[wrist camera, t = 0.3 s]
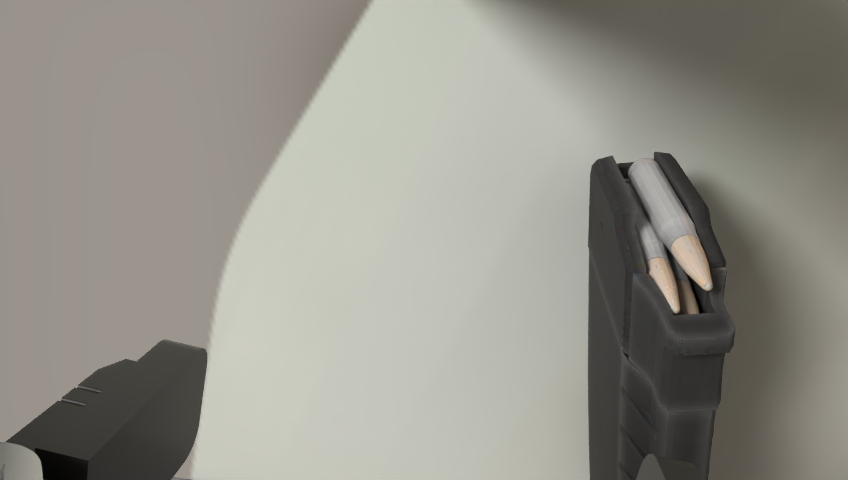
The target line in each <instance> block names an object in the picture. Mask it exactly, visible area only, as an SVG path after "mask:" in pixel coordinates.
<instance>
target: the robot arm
mask: <svg viewBox="0 0 848 480" xmlns="http://www.w3.org/2000/svg"><path fill="white" fill-rule="evenodd" d="M206 367H207V352H206V350H205V349H203V348H199V347H195V346H190V345H186V344H182V343H178V342H173V341H169V340H162V341H160V342H159V343H158V344H157V345H156V346H154V347H153V348H152V349H151V350H150V351H148V352H147V353H146V354H145V355H144V356H143V357H141V358H140V359H139V360H138V361H137V362H136V361H131V360H127V359H125V360H122V361H119V362H117V363H114V364H111V365H109V366H106V367H103V368H101V369H98V370H97V371H95V372H94V373H93V374H92V375H90V376H89V377H88V378H87V379H85V380H84V381H83V382H81V383H80V384H79V385H78V388H74V389H72V390H71V391H70V392H69V393H67V394H66V395H65V396H63V397H62V400H61V401H57V402H56V403H55V404H53V405H52V406H51V407H49V408H48V409H47V410H46V411H44V412H43V413H42V414H41V415H39V416H38V417H37V418H35V419H34V420H33V421H32V422H30V423H29V424H28V425H26V426H25V427H24V428H23V429H21V430H20V431H19V432H18V433H16V434H15V435H14V436H12V437H11V438H10V439H9V440H7V441H6V442H0V480H171V479H172V478H173V476H174V475H175V473H176V472H177V471H178V470H179V468H180V467H181V465H182V464H183V463H184V462H185V460H186V459H187V457H188V455H189V453H190V451H191V449H192V447H193V444H194V441H195V438H196V435H197V431H198V427H199V420H200V412H201V405H202V397H203V390H204V382H205V374H206ZM636 480H703V478H702V477H701V475H700V473H699V471H698V469H697V468H696V466H695V465H694V464H692V463H689V462H684V461H680V460H676V459H672V458H667V457H663V456H659V455H654V454H648V455H647V456H646V457H645V458H644V460H643V462H642V464H641V467H640V469H639V472H638V475H637V478H636Z"/></svg>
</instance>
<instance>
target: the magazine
mask: <svg viewBox="0 0 848 480" xmlns="http://www.w3.org/2000/svg"><path fill="white" fill-rule="evenodd" d="M588 247H589V321H588V410H589V460H590V480H636V478H637V475H638V472H639V469H640V467H641V464H642V462H643V460H644V458H645V457H646V456H647V455H648V454H654V455H659V456H663V457H667V458H672V459H676V460H680V461H684V462H689V463H692V464H694V465H695V466H696V468H697V469H698V471H699V473H700V475H701V477H702V478H703V480H708V473H709V461H710V452H711V443H712V437H713V427H714V419H715V411H716V409H717V407H718V405H719V403H720V399H721V381H722V369H723V362H724V355H725V353H728V352H730V350H731V348H732V347H733V344H734V336H735V326H734V324H733V322H732V320H731V318H730V316H729V314H728V312H727V310H726V308H725V306H724V304H723V295H724V288H725V280H726V273H727V268H726V261H725V258H724V256H723V254H722V251H721V249H720V247H719V244H718V242H717V240H716V237H715V235H714V233H713V230H712V226H711V222H710V215H709V209H708V207H707V205H706V204H705V203H704V201H703V200H702V198H701V197H700V195H699V194H698V192H697V191H696V189H695V188H694V186H693V185H692V183H691V182H690V180H689V179H688V177H687V176H686V174H685V173H684V171H683V170H682V168H681V167H680V165H679V164H678V162H677V161H676V159H675V158H674V157H673V156H672V155H671V154H669V153H660V152H654V160H653V159H649V158H643V159H640V160H637V161H636V162H631V163H619V164H616V162H615V160H614V158H613V156H609V157H605V158H602V159H598V160H597V161H596V162H595V163H594V164H593V165H592V168H591V174H590V205H589V238H588Z"/></svg>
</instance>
